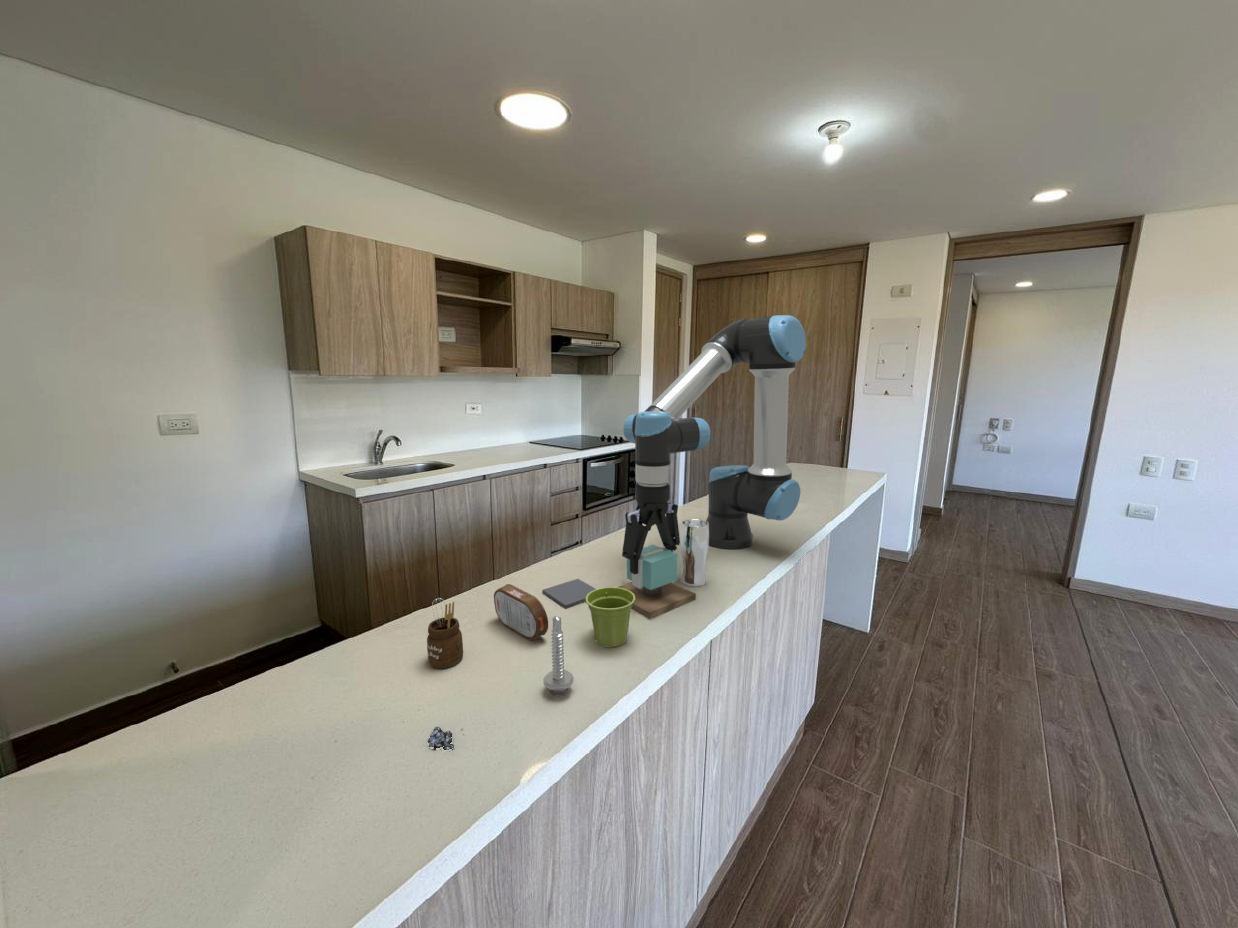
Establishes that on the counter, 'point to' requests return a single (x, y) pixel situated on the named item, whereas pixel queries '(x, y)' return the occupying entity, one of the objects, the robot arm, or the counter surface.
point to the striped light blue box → (656, 567)
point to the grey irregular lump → (440, 739)
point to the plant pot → (610, 614)
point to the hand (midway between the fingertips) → (651, 581)
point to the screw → (558, 663)
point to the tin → (521, 611)
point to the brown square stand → (659, 599)
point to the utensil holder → (444, 640)
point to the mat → (569, 593)
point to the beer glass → (694, 551)
